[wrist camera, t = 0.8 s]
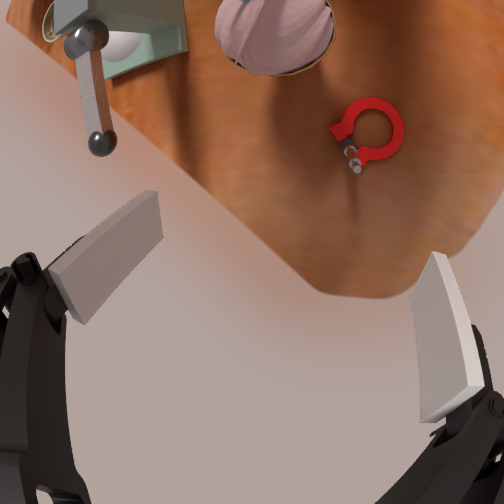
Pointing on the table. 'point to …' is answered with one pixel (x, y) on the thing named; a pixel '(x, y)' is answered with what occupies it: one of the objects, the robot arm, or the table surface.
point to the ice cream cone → (275, 34)
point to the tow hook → (364, 154)
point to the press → (128, 29)
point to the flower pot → (51, 26)
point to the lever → (92, 83)
